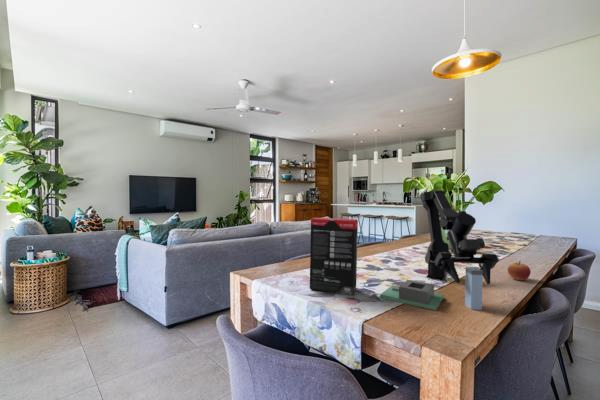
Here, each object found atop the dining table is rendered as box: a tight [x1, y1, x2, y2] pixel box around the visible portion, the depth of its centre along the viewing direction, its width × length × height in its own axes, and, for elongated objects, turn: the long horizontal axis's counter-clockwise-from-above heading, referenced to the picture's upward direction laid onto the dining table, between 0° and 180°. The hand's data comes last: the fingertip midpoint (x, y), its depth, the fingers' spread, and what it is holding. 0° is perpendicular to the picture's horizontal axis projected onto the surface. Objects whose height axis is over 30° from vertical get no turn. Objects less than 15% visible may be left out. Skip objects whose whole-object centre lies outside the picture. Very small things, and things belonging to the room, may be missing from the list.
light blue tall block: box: [464, 266, 484, 311], centre depth 93 cm, size 3×4×12 cm
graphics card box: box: [309, 217, 359, 296], centre depth 108 cm, size 17×7×27 cm, turn 71°
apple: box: [507, 260, 532, 281], centre depth 124 cm, size 8×8×8 cm
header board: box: [379, 279, 445, 311], centre depth 101 cm, size 18×13×5 cm
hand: (473, 283), depth 93 cm, fingers open, 9 cm apart
